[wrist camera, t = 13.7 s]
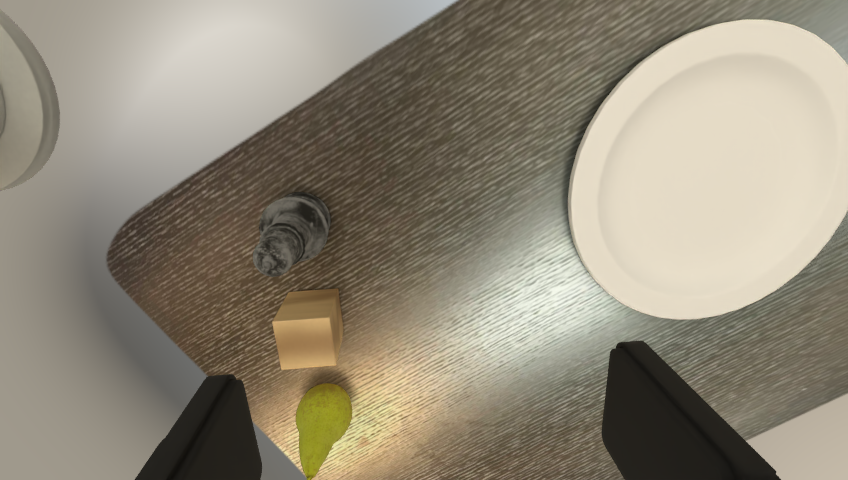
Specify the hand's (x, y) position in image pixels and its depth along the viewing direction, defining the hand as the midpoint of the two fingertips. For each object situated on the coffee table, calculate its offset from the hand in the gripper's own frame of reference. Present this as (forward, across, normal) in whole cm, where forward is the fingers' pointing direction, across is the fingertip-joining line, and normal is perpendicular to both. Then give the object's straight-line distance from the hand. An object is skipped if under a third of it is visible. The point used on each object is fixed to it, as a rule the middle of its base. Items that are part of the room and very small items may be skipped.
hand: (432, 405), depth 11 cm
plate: (+31, -29, +2) cm, 42 cm away
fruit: (+31, +10, +23) cm, 39 cm away
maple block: (+30, +10, +13) cm, 34 cm away
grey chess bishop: (+31, +10, +3) cm, 32 cm away
